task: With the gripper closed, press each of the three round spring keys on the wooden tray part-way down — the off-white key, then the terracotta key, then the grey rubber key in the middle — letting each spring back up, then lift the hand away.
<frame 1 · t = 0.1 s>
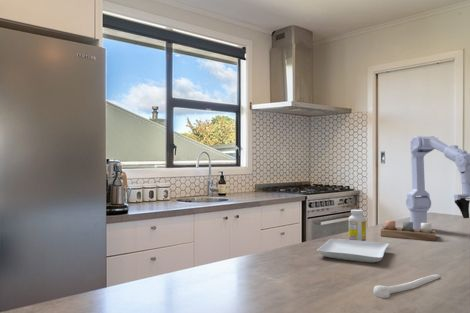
white key: (426, 227, 161), point 4 cm above the countertop, slide at 0.0 cm
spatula: (408, 287, 101), on the countertop
supplement bottle: (357, 242, 152), on the countertop
grey key: (407, 226, 164), point 4 cm above the countertop, slide at 0.0 cm
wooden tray: (407, 236, 164), on the countertop
salad plate: (353, 256, 133), on the countertop
terracotta key: (390, 224, 167), point 4 cm above the countertop, slide at 0.0 cm
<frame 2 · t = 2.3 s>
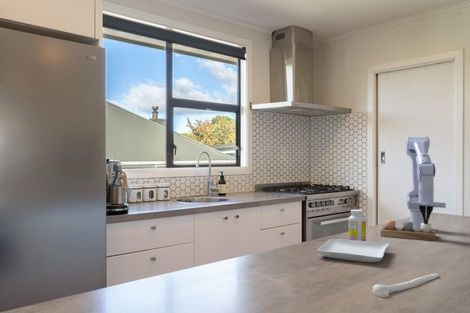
hand: (426, 223, 161), 6 cm above the countertop, tool pointing down, fingers closed, pressing on white key
white key: (426, 227, 161), point 4 cm above the countertop, slide at 0.1 cm, touching gripper
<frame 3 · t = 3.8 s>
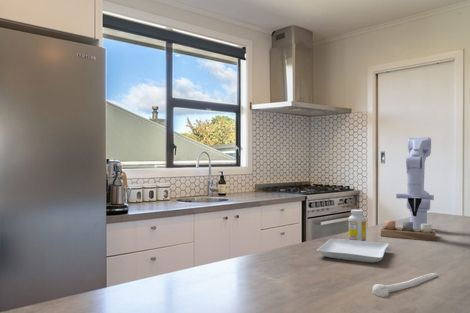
hand: (414, 215, 163), 9 cm above the countertop, tool pointing down, fingers closed
white key: (426, 228, 161), point 4 cm above the countertop, slide at 0.4 cm
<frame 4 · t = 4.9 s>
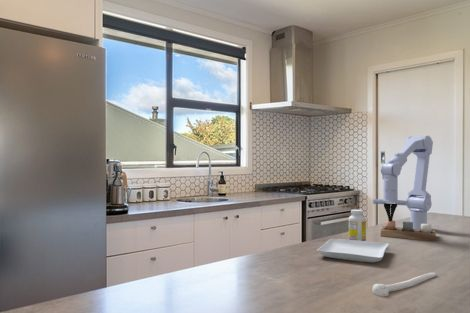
hand: (390, 221, 167), 6 cm above the countertop, tool pointing down, fingers closed, pressing on terracotta key
terracotta key: (390, 224, 167), point 4 cm above the countertop, slide at 0.0 cm, touching gripper
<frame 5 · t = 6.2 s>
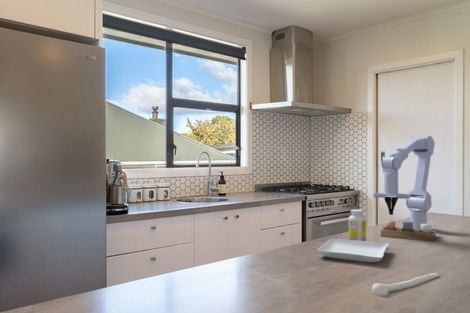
hand: (391, 214, 167), 9 cm above the countertop, tool pointing down, fingers closed
terracotta key: (390, 225, 167), point 4 cm above the countertop, slide at 0.2 cm
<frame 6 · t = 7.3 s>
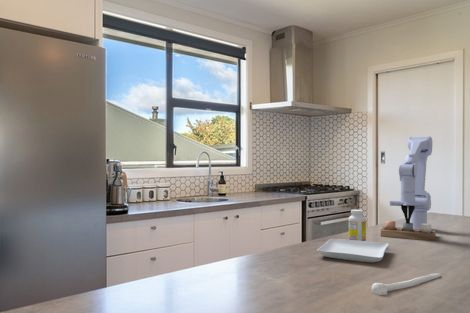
hand: (407, 223, 164), 6 cm above the countertop, tool pointing down, fingers closed, pressing on grey key
grey key: (407, 227, 164), point 4 cm above the countertop, slide at 0.4 cm, touching gripper
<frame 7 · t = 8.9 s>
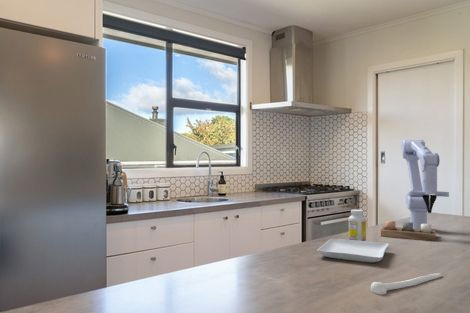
hand: (429, 212, 163), 10 cm above the countertop, tool pointing down, fingers closed
grey key: (407, 226, 164), point 4 cm above the countertop, slide at 0.1 cm
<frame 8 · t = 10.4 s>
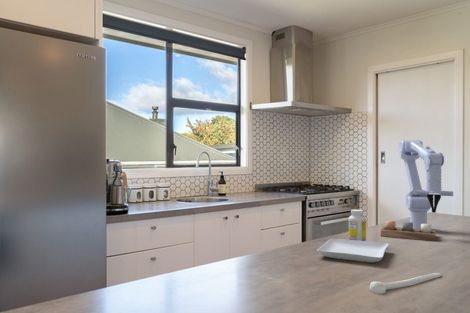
hand: (433, 212, 163), 10 cm above the countertop, tool pointing down, fingers closed
at the end: white key slide at 0.4 cm; terracotta key slide at 0.2 cm; grey key slide at 0.1 cm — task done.
